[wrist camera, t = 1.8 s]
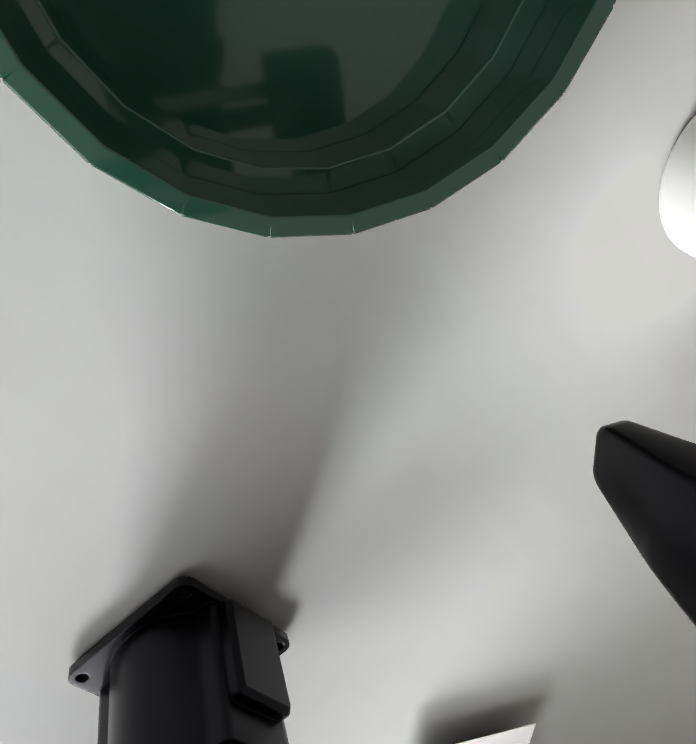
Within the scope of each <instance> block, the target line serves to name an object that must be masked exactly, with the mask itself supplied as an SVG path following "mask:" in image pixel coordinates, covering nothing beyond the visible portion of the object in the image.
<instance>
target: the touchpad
mask: <svg viewBox="0 0 696 744" xmlns="http://www.w3.org/2000/svg"><path fill="white" fill-rule="evenodd" d="M535 724H536V723H534V724H530V725H527V726H523V727H519V728H515V729H511V730H507V731H503V732H500V733H496V734H492V735H488V736H484V737H480V738H476V739H472V740H469V741H465V742H461V743H457V744H529V742H530V739H531V736H532V733H533V730H534V727H535Z"/></svg>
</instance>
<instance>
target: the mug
mask: <svg viewBox="0 0 696 744" xmlns="http://www.w3.org/2000/svg"><path fill="white" fill-rule="evenodd" d="M659 210H660V217H661V221H662V225H663V228H664V230H665V232H666V234H667V236H668V237H669V239H670V240H671V241H672V242H673V243H674V244H675V245H676V246H677V247H678V248H679V249H681V250H682V251H684V252H685V253H687V254H689V255H691V256H693V257H695V258H696V115H695V116H694V117H693V118H692V119H691V121H690V122H689V123H688V125H687V126H686V127H685V129H684V130H683V132H682V133H681V135H680V136H679V138H678V140H677V141H676V143H675V145H674V147H673V149H672V151H671V153H670V155H669V158H668V160H667V163H666V165H665V168H664V172H663V175H662V180H661V185H660V192H659Z"/></svg>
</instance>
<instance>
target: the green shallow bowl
mask: <svg viewBox="0 0 696 744" xmlns="http://www.w3.org/2000/svg"><path fill="white" fill-rule="evenodd" d="M615 2H616V0H0V78H3V82H4V83H5V84H6V85H7V86H8V87H9V88H10V89H11V90H12V91H13V92H14V93H15V94H16V95H17V96H18V97H19V98H20V99H22V100H23V101H24V102H25V103H26V104H27V105H28V106H29V107H30V108H31V109H32V110H33V111H34V112H35V113H36V114H37V115H38V116H39V117H40V118H41V119H42V120H43V121H45V122H46V123H47V124H48V125H49V126H50V127H51V128H52V129H53V130H54V131H55V132H56V133H57V134H58V135H59V136H60V137H61V138H62V139H63V140H64V141H65V142H66V143H68V144H69V145H70V146H71V147H72V148H73V149H74V150H75V151H76V152H77V153H78V154H79V155H80V156H81V157H82V158H83V159H84V160H85V161H86V162H88V163H91V165H92V166H93V167H95V168H97V169H98V170H100V171H102V172H104V173H106V174H107V175H109V176H111V177H113V178H114V179H116V180H118V181H120V182H121V183H123V184H125V185H127V186H129V187H130V188H132V189H134V190H136V191H137V192H139V193H141V194H143V195H145V196H146V197H148V198H150V199H152V200H153V201H155V202H157V203H159V204H160V205H162V206H164V207H166V208H168V209H169V210H171V211H173V212H175V213H176V214H181V215H182V216H184V217H188V218H192V219H196V220H200V221H204V222H208V223H212V224H216V225H220V226H224V227H228V228H232V229H236V230H240V231H244V232H248V233H252V234H256V235H260V236H264V237H268V236H269V237H271V238H273V237H300V236H327V235H351V234H353V233H354V234H356V233H359V232H362V231H365V230H368V229H371V228H374V227H377V226H380V225H383V224H386V223H389V222H392V221H395V220H398V219H401V218H404V217H408V216H411V215H414V214H417V213H420V212H423V211H426V210H429V209H430V208H432V207H435V206H436V205H438V204H439V203H441V202H442V201H444V200H445V199H447V198H448V197H450V196H451V195H453V194H454V193H456V192H457V191H459V190H460V189H462V188H463V187H465V186H466V185H468V184H469V183H471V182H472V181H474V180H475V179H477V178H478V177H480V176H481V175H483V174H484V173H486V172H487V171H489V170H490V169H492V168H493V167H495V166H496V165H498V164H499V163H500V162H501V160H504V159H505V158H506V157H507V156H508V155H509V154H510V152H511V151H512V150H513V149H514V148H515V147H516V146H517V145H518V144H519V143H520V142H521V140H522V139H523V138H524V137H525V136H526V135H527V134H528V133H529V132H530V131H531V129H532V128H533V127H534V126H535V125H536V124H537V123H538V122H539V121H540V120H541V118H542V117H543V116H544V115H545V114H546V113H547V112H548V111H549V110H550V109H551V108H552V106H553V105H554V104H555V103H556V102H557V101H558V100H559V99H560V98H561V97H562V95H563V93H564V92H565V91H566V89H567V88H568V86H569V84H570V82H571V81H572V79H573V77H574V75H575V74H576V72H577V70H578V68H579V67H580V65H581V63H582V61H583V60H584V58H585V56H586V54H587V53H588V51H589V49H590V47H591V46H592V44H593V42H594V40H595V39H596V37H597V35H598V33H599V32H600V30H601V28H602V26H603V25H604V23H605V21H606V19H607V18H608V16H609V14H610V12H611V11H612V9H613V6H612V5H614V4H615Z"/></svg>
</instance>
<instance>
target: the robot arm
mask: <svg viewBox="0 0 696 744" xmlns="http://www.w3.org/2000/svg"><path fill="white" fill-rule="evenodd" d="M593 474H594V478H595V481H596V483H597V485H598V487H599V489H600V490H601V492H602V494H603V495H604V497H605V498H606V500H607V501H608V503H609V505H610V506H611V508H612V509H613V511H614V512H615V514H616V516H617V517H618V519H619V520H620V522H621V523H622V525H623V527H624V528H625V530H626V531H627V533H628V535H629V536H630V538H631V539H632V541H633V542H634V544H635V546H636V547H637V549H638V550H639V552H640V553H641V555H642V557H643V558H644V560H645V561H646V562H647V564H648V565H649V567H650V568H651V570H652V571H653V573H654V574H655V575H656V577H657V578H658V579H659V580H660V582H661V583H662V584H663V586H664V587H665V588H666V590H667V591H668V592H669V593H670V595H671V596H672V597H673V598H674V600H675V601H676V602H677V604H678V605H679V606H680V607H681V609H682V610H683V611H684V612H685V614H686V615H687V616H688V617H689V619H690V620H691V621H692V623H693V624H694V625H695V626H696V444H695V443H692V442H689V441H686V440H683V439H680V438H677V437H674V436H672V435H669V434H666V433H663V432H660V431H657V430H654V429H651V428H648V427H645V426H642V425H639V424H636V423H633V422H630V421H619V422H616V423H612V424H609V425H606V426H603V427H601V428H600V429H599V431H598V432H597V436H596V446H595V455H594V465H593ZM182 589H187V590H184V591H181V590H182ZM288 647H289V640H288V636H287V634H286V633H285V632H284V631H282V630H281V629H279V628H277V627H275V626H274V625H272V623H271V622H270V621H268V620H266V619H265V618H263V617H261V616H260V615H258V614H256V613H254V612H253V611H251V610H249V609H248V608H246V607H244V606H243V605H241V604H239V603H238V602H236V601H234V600H231V599H228V598H226V597H225V596H223V595H221V594H219V593H218V592H216V591H214V590H213V589H211V588H209V587H208V586H206V585H204V584H202V583H201V582H199V581H197V580H196V579H194V578H192V577H189V576H183V577H180V578H177V579H176V580H174V581H173V582H172V583H170V584H169V585H168V586H167V587H166V588H164V589H163V590H162V591H161V592H160V593H158V594H157V595H156V596H155V597H154V598H152V599H151V600H150V601H149V602H147V603H146V604H145V605H144V606H143V607H141V608H140V609H139V610H138V611H137V612H135V613H134V614H133V615H132V616H131V617H129V618H128V619H127V620H126V621H125V622H123V623H122V624H121V625H120V626H118V627H117V628H116V629H115V630H114V631H112V632H111V633H110V634H109V635H108V636H106V637H105V638H104V639H103V640H102V641H100V642H99V643H98V644H97V645H96V646H94V647H93V648H92V649H91V650H90V651H88V652H87V653H86V654H85V655H83V656H82V657H81V658H80V659H79V660H77V661H76V662H75V663H74V664H73V665H72V666H71V667H70V669H69V677H68V681H69V683H70V684H72V685H73V686H76V687H78V688H80V689H83V690H85V691H88V692H90V693H93V694H95V695H98V696H100V705H99V726H98V744H289V743H288V738H287V734H286V729H285V724H284V719H285V718H286V717H288V716H289V714H290V702H289V697H288V693H287V688H286V683H285V679H284V674H283V670H282V665H281V661H280V655H281V654H282V653H284V652H285V651H286V650H287V649H288Z"/></svg>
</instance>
